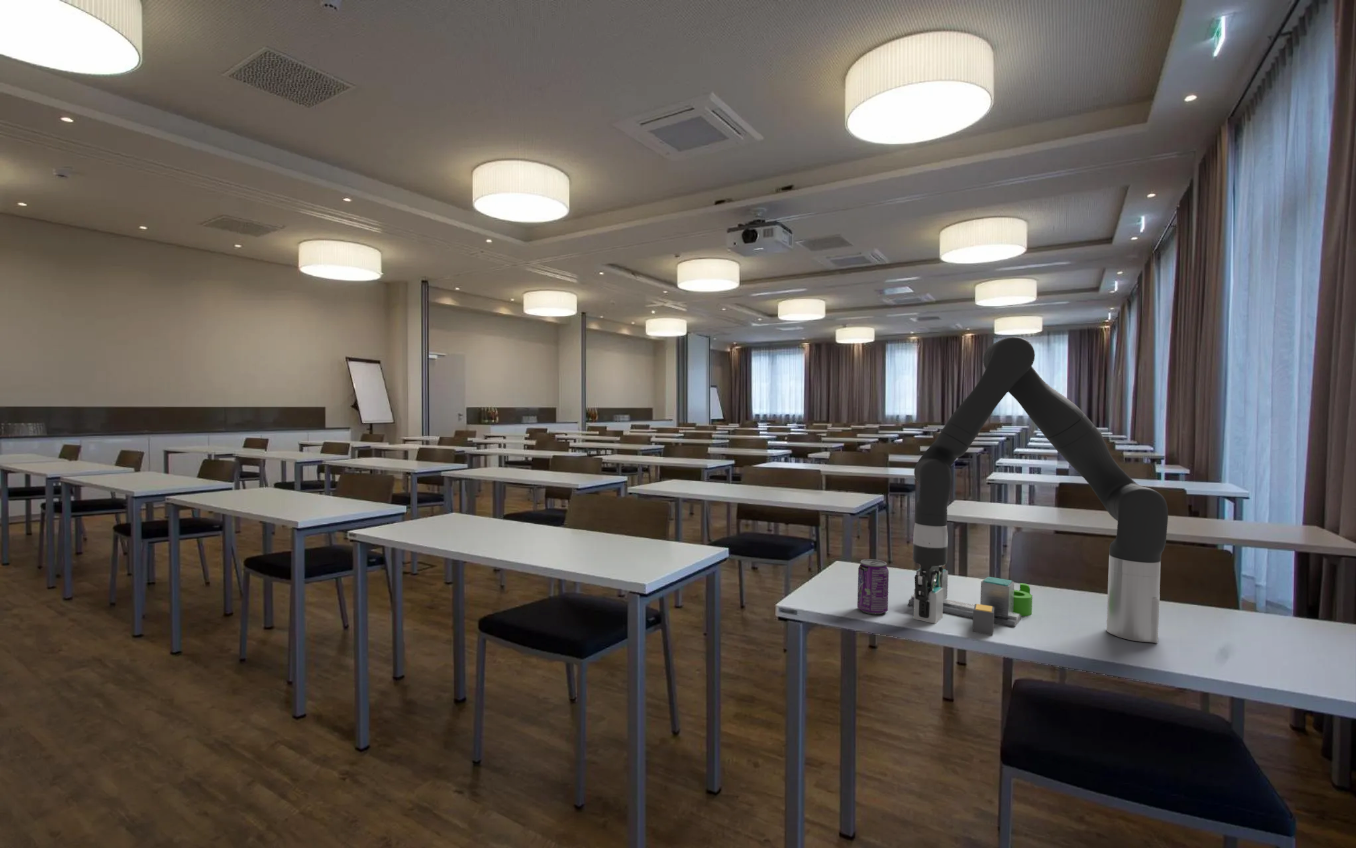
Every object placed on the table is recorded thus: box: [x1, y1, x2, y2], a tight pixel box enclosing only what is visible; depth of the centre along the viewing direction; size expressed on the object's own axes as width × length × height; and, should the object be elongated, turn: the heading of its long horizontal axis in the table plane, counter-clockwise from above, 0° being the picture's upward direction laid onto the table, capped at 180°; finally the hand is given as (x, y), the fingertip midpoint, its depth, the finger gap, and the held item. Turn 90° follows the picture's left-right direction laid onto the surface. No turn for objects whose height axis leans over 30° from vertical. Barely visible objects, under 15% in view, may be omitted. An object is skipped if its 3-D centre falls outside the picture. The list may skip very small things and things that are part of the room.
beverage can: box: [856, 558, 890, 615], centre depth 152 cm, size 7×7×12 cm
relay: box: [972, 603, 995, 636], centre depth 140 cm, size 4×5×5 cm
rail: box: [908, 568, 1022, 628], centre depth 152 cm, size 24×7×9 cm, turn 51°
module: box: [913, 586, 944, 624], centre depth 147 cm, size 5×6×7 cm
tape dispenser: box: [1013, 582, 1033, 617], centre depth 157 cm, size 15×7×5 cm, turn 151°
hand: (928, 613), depth 147 cm, fingers closed on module, 5 cm apart
